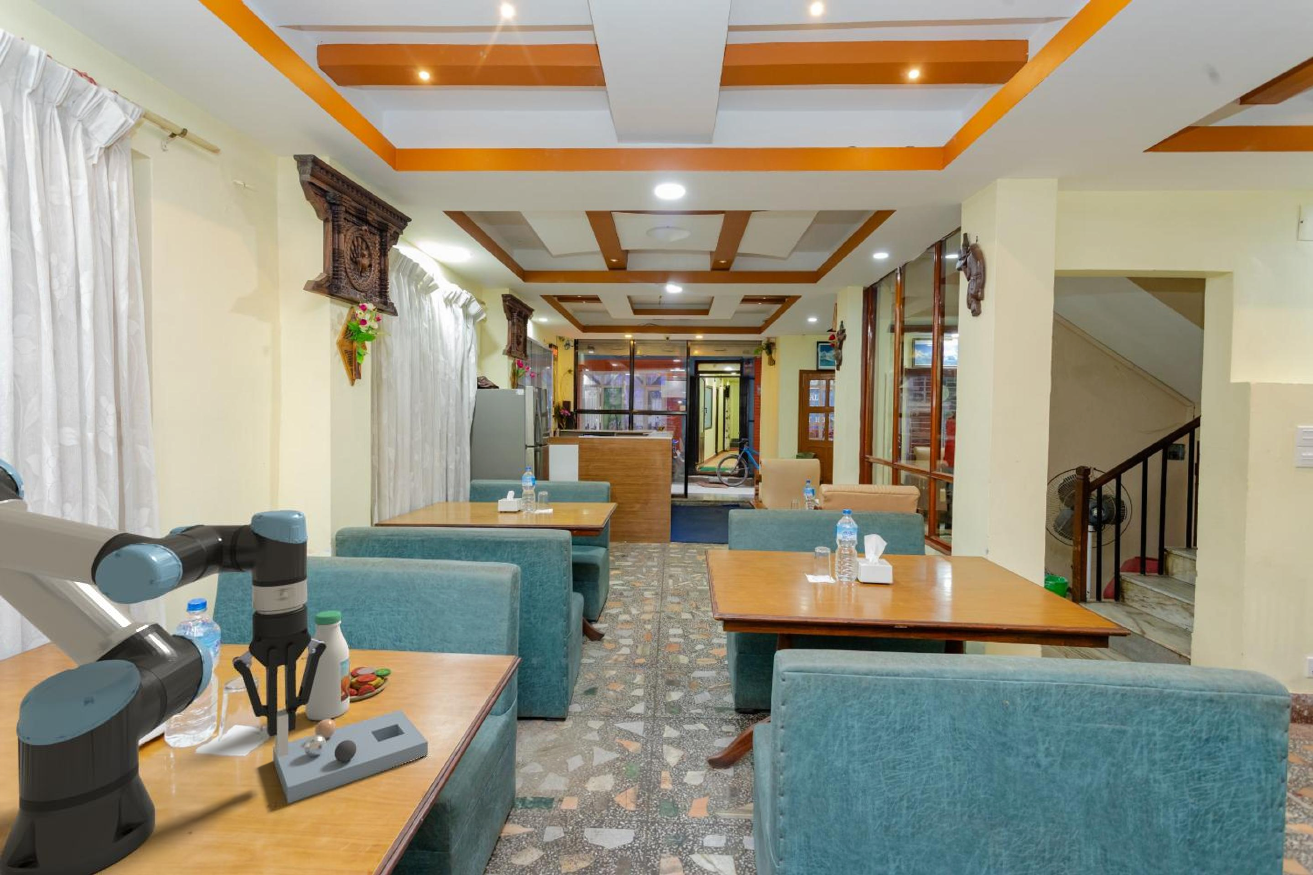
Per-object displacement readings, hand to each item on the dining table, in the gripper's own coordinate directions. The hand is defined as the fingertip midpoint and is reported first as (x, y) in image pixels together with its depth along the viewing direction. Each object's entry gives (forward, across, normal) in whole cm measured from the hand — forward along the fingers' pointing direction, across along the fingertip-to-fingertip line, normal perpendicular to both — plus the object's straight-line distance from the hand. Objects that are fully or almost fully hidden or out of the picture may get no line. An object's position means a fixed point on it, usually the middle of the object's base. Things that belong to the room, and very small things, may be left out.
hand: (281, 752), depth 96 cm
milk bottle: (+5, +11, +21) cm, 24 cm away
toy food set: (+5, +18, +29) cm, 35 cm away
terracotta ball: (+1, +7, +5) cm, 9 cm away
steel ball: (+1, +5, 0) cm, 5 cm away
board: (+5, +10, 0) cm, 11 cm away
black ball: (+1, +8, -5) cm, 10 cm away
